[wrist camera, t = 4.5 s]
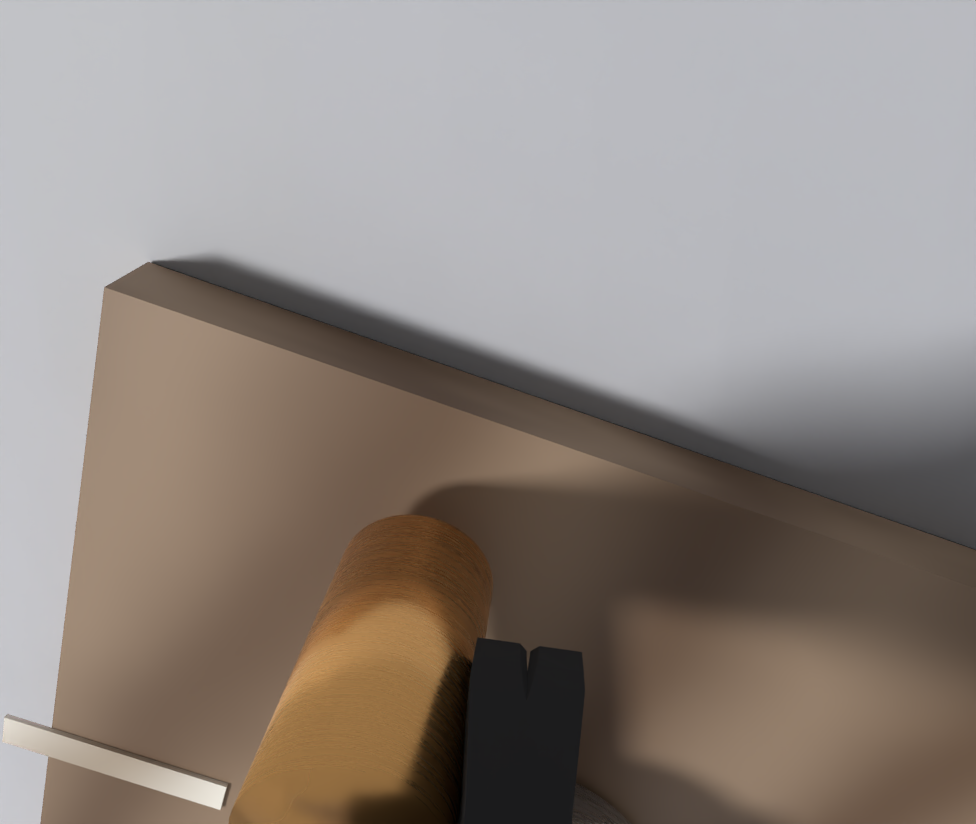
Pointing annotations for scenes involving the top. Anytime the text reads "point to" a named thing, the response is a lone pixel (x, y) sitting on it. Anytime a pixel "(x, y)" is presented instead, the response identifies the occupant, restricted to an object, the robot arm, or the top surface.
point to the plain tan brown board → (516, 581)
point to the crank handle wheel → (384, 689)
